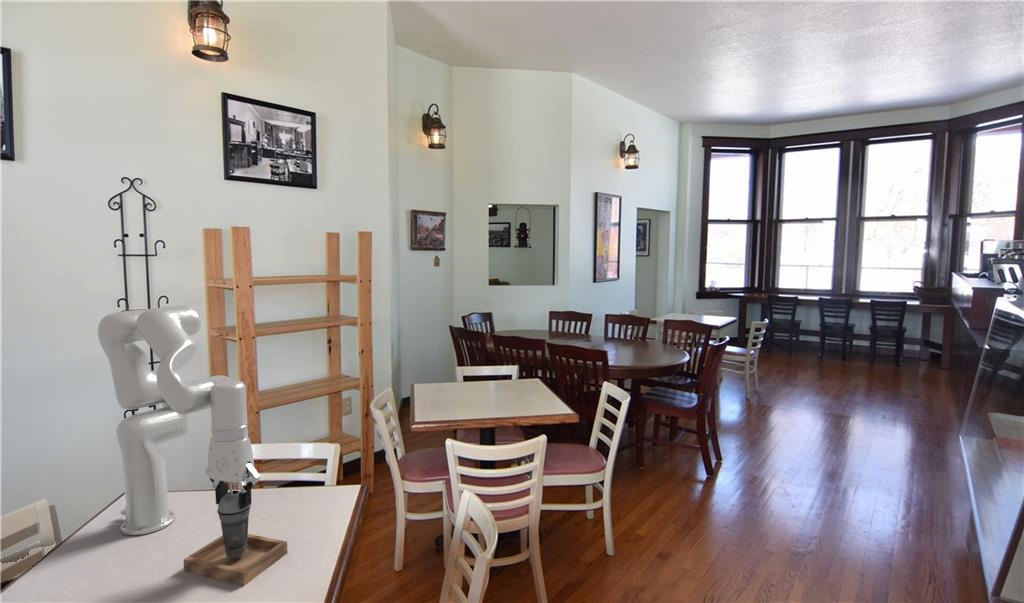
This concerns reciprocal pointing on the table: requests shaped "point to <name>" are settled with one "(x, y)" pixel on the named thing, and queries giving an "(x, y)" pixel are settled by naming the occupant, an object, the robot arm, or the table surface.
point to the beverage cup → (233, 523)
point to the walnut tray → (236, 559)
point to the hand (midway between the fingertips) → (233, 503)
